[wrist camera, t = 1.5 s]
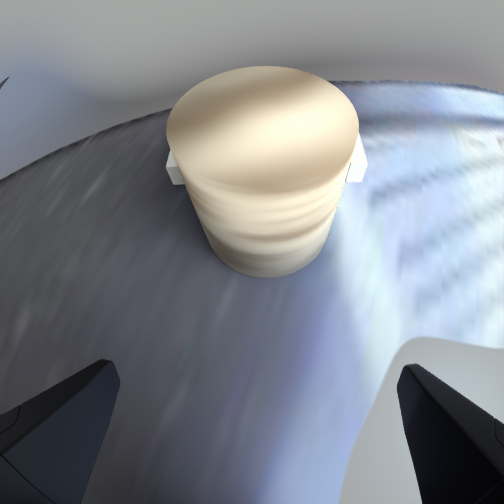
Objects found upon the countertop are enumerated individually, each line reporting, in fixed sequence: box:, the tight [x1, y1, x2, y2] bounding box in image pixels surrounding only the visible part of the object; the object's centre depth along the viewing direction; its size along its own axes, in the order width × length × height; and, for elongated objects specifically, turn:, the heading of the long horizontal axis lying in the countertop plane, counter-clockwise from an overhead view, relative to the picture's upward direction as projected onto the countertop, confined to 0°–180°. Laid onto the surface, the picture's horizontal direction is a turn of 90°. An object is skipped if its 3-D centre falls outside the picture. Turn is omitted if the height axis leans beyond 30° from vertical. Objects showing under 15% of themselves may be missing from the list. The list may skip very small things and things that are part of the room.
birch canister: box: [166, 66, 359, 278], centre depth 19 cm, size 10×10×11 cm
